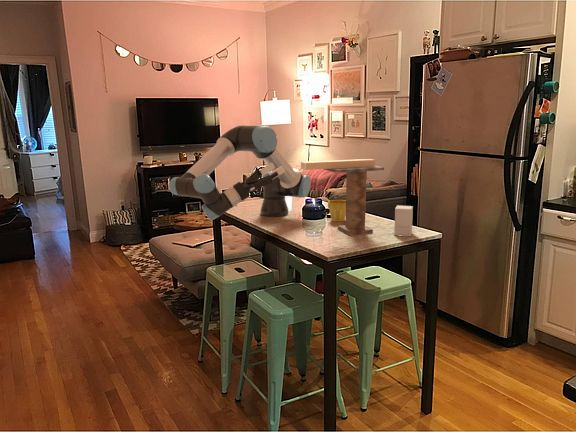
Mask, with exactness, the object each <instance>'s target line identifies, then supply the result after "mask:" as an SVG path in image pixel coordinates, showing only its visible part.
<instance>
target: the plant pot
mask: <svg viewBox="0 0 576 432" xmlns="http://www.w3.org/2000/svg"><path fill="white" fill-rule="evenodd" d="M327 209H329V214H330V219H331V221H332V222H334V223H335V222H337V223H338V222H341V223H342V222H344V221H346V199H332V200H328V202H327Z"/></svg>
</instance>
